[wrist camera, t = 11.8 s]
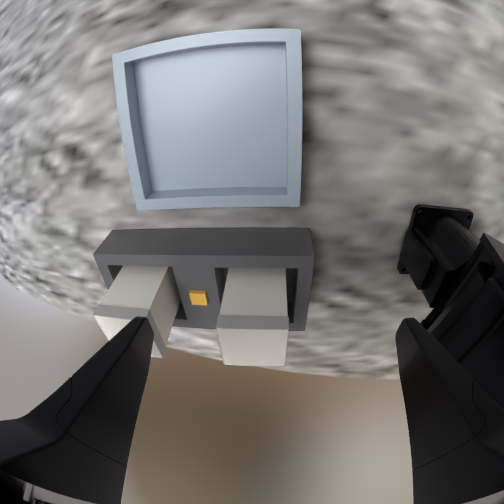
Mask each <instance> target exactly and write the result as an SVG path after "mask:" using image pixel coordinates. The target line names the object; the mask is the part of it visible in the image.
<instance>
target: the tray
mask: <svg viewBox="0 0 504 504" xmlns="http://www.w3.org/2000/svg"><path fill="white" fill-rule="evenodd" d="M112 59H113V71H114V82H115V91H116V100H117V108H118V115H119V122H120V128H121V134H122V140H123V146H124V152H125V157H126V162H127V167H128V172H129V177H130V181H131V186H132V190H133V195H134V199H135V203H136V207H137V211H139V210H157V209H180V208H212V207H300V191H301V162H302V54H301V29H246V30H231V31H221V32H212V33H204V34H197V35H191V36H185V37H179V38H174V39H169V40H165V41H160V42H156V43H152V44H148V45H144V46H140V47H136V48H133V49H129V50H126V51H123V52H120V53H116V54H113V55H112Z"/></svg>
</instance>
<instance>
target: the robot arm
mask: <svg viewBox="0 0 504 504" xmlns="http://www.w3.org/2000/svg"><path fill="white" fill-rule="evenodd" d="M420 210H421V212H420V213H418V212H419V211H420ZM468 215H469V216H468ZM472 219H473V213H472V212H471V211H470V210H467V209H458V208H449V207H439V206H428V205H417V206H416V207H415V208H414V210H413V214H412V218H411V222H410V226H409V230H408V231H407V233H406V237H405V241H404V244H403V247H402V251H401V254H400V260H399V264H398V267H397V269H398V271H399V273H400V274H410V276H411V278H412V280H413V282H414V284H415V286H416V287H417V289H418V290H422V292H423V294H424V296H425V298H426V300H427V302H428V304H429V306H430V308H434V309H433V310H432V311H431V313H430V314H429V315H428V316H427V317H426V319H425V320H422V322H421V323H419V322H418V321H417V320H416V319H415V318H405V319H403V320H402V322H401V324H400V326H399V328H398V330H397V332H396V347H397V355H398V365H399V374H400V380H401V385H402V390H403V396H404V402H405V408H406V415H407V422H408V429H409V437H410V446H411V457H412V469H413V471H412V472H413V496H414V504H504V244H503V243H501V242H499V241H497V240H496V239H494V238H492V237H491V236H489V235H487V234H485V233H483V235H482V237H481V238H480V242H479V241H478V240H477V238H476V237H475V236H474V235H473V234H472V233H471V232H470V231H469V228H470V225H471V222H472ZM403 267H404V268H403ZM402 268H403V269H402ZM153 340H154V331H153V329H152V327H151V325H150V322H149V320H148V318H146V317H141V316H136V317H135V318H133V319H132V320H131V321H130V322H129V323H128V324H127V325H126V326H125V327H124V328H122V329H121V330H120V331H119V332H118V333H117V334H116V335H115V336H114V337H113V338H112V339H110V340H109V341H108V342H107V343H106V344H105V345H104V346H103V347H102V348H101V349H100V350H99V351H98V352H97V353H95V354H94V355H93V357H91V358H90V359H89V360H88V361H87V362H86V363H85V364H84V365H83V366H82V367H81V368H80V369H79V370H78V371H77V372H75V373H74V374H73V375H72V377H70V378H69V379H68V380H67V381H66V382H65V383H64V384H63V385H62V386H61V387H60V388H58V389H57V390H56V391H55V392H54V393H53V394H52V395H50V396H49V397H48V398H47V399H46V400H44V401H43V402H42V403H41V404H39V405H38V406H37V407H36V408H35V409H33V410H32V411H31V412H30V413H28V414H27V415H25V416H23V417H21V418H18V419H12V420H3V421H0V504H121V497H122V491H123V485H124V479H125V473H126V468H127V462H128V457H129V452H130V447H131V442H132V438H133V433H134V429H135V424H136V420H137V415H138V411H139V407H140V403H141V399H142V395H143V391H144V387H145V383H146V380H147V375H148V371H149V365H150V359H151V352H152V346H153Z"/></svg>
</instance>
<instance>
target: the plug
mask: <svg viewBox="0 0 504 504" xmlns="http://www.w3.org/2000/svg"><path fill="white" fill-rule="evenodd" d="M180 302H181V297H180V293H179V290H178V286H177V283H176V279H175V275H174V272H173V268H172V267H163V266H125V265H123V267H122V269H121V270H120V272H119V273H118V275H117V277H116V278H115V280H114V281H113V283H112V285H111V286H110V288H109V290H108V291H107V293H106V295H105V296H104V298H103V300H102V302H101V303H100V304H99V305H98V307H97V308H96V310H95V312H94V314H93V316H94V318H95V319H96V321H97V323H98V324H99V326H100V328H101V329H102V330H103V332H104V334H105V335H106V337H107V339H108V340H110V339H112V338H113V337H114V336H115V335H116V334H117V333H118V332H119V331H120V330H121V329H122V328H124V327H125V326H126V325H127V324H128V323H129V322H130V321H131V320H132V319H133V318H135V317H136V316H141V317H146V318H148V320H149V322H150V325H151V327H152V329H153V331H154V340H153V346H152V352H151V357H158V358H163V356H164V353H165V350H166V344H167V341H168V337H169V334H170V331H171V328H172V325H173V322H174V319H175V316H176V313H177V310H178V307H179V304H180Z"/></svg>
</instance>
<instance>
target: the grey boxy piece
mask: <svg viewBox="0 0 504 504" xmlns="http://www.w3.org/2000/svg"><path fill="white" fill-rule="evenodd" d="M93 255H94V258H95V260H96V263H97V265H98V267H99V270H100V272H101V274H102V277H103V279H104V281H105V283H106V286H107V288H108V290H109V288H110V286H111V285H112V283H113V281H114V280H115V278H116V277H117V275H118V273H119V272H120V270H121V269H122V267H123V265H125V266H163V267H172V268H173V272H174V275H175V279H176V283H177V286H178V290H179V293H180V297H181V302H180V304H179V307H178V310H177V313H176V316H175V319H174V322H173V325H172V326H177V327H190V328H205V329H216V331H217V336H218V340H219V345H220V349H221V354H222V358H223V362H224V365H239V366H240V365H241V366H278V367H285V363H286V354H287V344H288V334H289V331H305V325H306V319H307V312H308V305H309V299H310V291H311V284H312V276H313V268H314V260H315V254H314V249H313V244H312V239H311V234H310V230H309V228H177V229H136V230H112V231H111V233H110V234H109V235H108V236H107V237H106V239H105V240H104V241H103V242H102V244H101V245H100V246H99V247H98V249H97V250H96V251H95V252H94V254H93Z"/></svg>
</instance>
